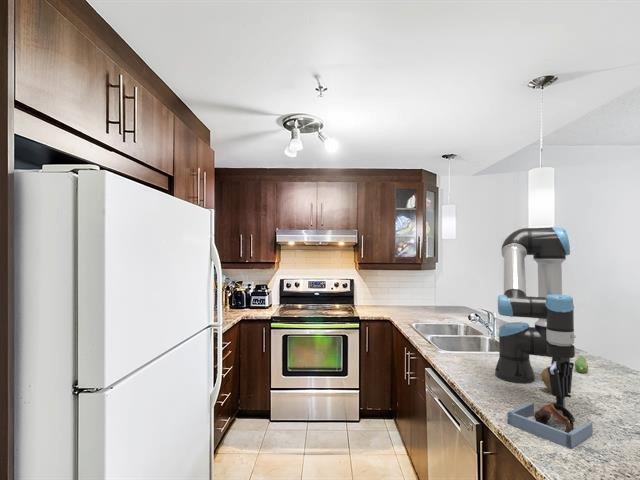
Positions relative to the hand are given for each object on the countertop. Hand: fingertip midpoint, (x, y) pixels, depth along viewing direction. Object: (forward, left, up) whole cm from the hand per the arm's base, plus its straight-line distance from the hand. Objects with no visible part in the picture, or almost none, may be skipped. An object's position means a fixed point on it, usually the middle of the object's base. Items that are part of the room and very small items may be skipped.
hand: (562, 417), depth 117 cm
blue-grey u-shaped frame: (0, -9, -1) cm, 9 cm away
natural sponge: (-13, +25, -2) cm, 28 cm away
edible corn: (-20, +67, -2) cm, 70 cm away
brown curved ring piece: (0, -7, -2) cm, 7 cm away
